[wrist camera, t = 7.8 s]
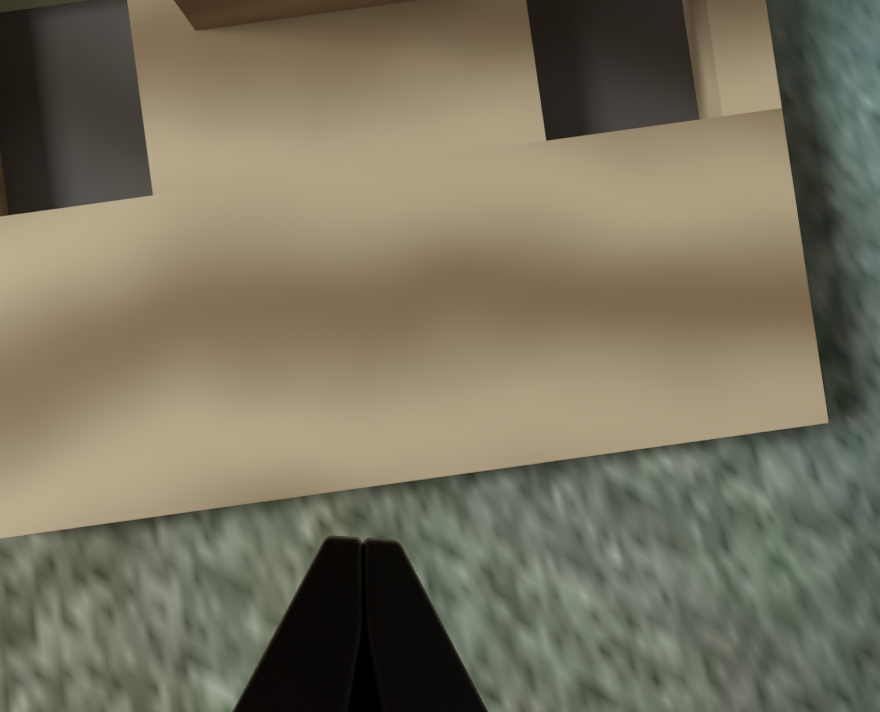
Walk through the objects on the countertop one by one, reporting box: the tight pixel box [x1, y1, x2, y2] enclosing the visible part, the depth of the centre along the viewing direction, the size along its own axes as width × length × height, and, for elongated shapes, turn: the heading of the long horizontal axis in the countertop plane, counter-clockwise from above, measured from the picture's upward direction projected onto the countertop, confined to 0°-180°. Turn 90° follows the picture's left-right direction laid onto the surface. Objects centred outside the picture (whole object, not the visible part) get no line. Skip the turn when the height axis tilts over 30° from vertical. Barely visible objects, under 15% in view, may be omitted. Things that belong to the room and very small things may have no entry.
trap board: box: [0, 0, 829, 538], centre depth 21 cm, size 20×22×4 cm
